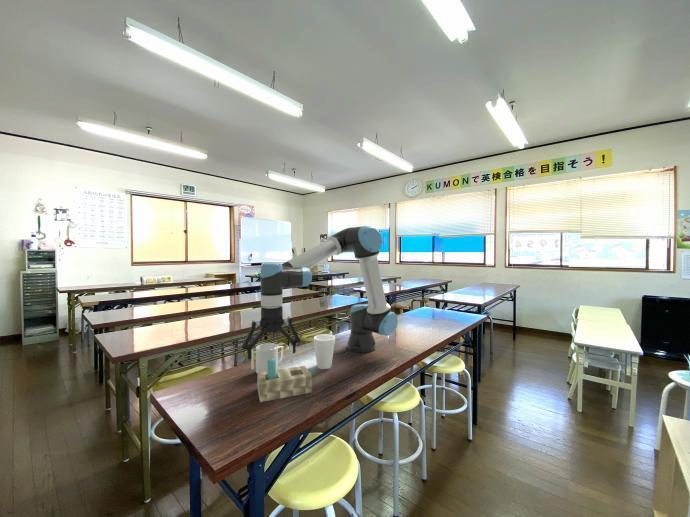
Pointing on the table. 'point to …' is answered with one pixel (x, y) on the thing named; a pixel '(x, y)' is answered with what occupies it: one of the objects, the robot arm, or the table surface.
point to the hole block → (284, 383)
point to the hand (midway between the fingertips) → (272, 364)
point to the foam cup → (324, 350)
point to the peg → (271, 368)
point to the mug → (267, 356)
